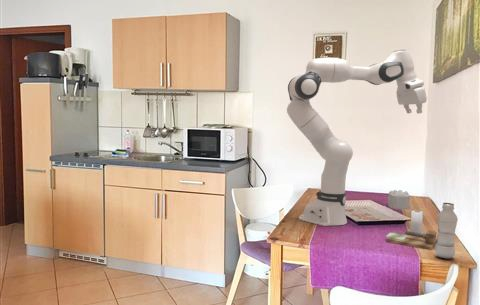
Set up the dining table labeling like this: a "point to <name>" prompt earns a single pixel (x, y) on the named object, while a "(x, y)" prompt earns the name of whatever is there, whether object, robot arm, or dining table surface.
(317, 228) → the dining table surface
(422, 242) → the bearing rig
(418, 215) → the spacer sleeve
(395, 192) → the lumpy-topped squat cylinder
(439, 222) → the plastic bottle
